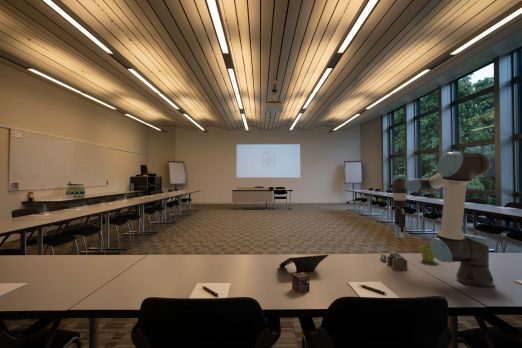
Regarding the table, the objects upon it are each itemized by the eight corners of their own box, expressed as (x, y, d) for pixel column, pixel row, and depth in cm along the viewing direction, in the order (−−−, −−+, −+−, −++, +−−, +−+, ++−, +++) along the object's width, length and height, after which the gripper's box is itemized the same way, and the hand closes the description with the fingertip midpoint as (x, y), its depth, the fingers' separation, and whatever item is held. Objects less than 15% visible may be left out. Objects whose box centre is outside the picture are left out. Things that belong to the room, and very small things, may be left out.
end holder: (394, 258, 192) (393, 252, 192) (398, 262, 184) (398, 255, 184) (380, 258, 193) (380, 252, 193) (384, 262, 185) (384, 255, 185)
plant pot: (439, 261, 186) (439, 247, 187) (432, 263, 181) (432, 249, 181) (424, 258, 194) (424, 244, 194) (416, 260, 189) (416, 246, 189)
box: (298, 293, 134) (298, 277, 134) (291, 289, 140) (291, 273, 140) (309, 291, 136) (309, 275, 137) (302, 287, 142) (302, 272, 142)
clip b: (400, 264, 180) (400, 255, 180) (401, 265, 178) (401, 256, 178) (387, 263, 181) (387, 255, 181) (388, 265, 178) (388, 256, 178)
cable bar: (396, 262, 182) (396, 252, 182) (404, 268, 170) (404, 257, 170) (389, 262, 182) (389, 252, 182) (396, 268, 170) (396, 257, 170)
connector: (402, 236, 191) (402, 223, 191) (405, 237, 186) (405, 225, 186) (394, 236, 192) (394, 223, 192) (397, 237, 187) (397, 224, 187)
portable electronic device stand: (314, 275, 178) (310, 259, 182) (331, 267, 159) (327, 250, 163) (277, 279, 171) (275, 263, 176) (291, 271, 152) (288, 253, 156)
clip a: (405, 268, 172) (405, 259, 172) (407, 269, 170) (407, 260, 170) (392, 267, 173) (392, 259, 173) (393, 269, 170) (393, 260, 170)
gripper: (389, 198, 199) (389, 233, 199) (398, 200, 181) (398, 239, 181) (401, 198, 198) (401, 234, 198) (411, 200, 180) (411, 239, 180)
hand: (399, 236), depth 189 cm, fingers closed on connector, 5 cm apart
